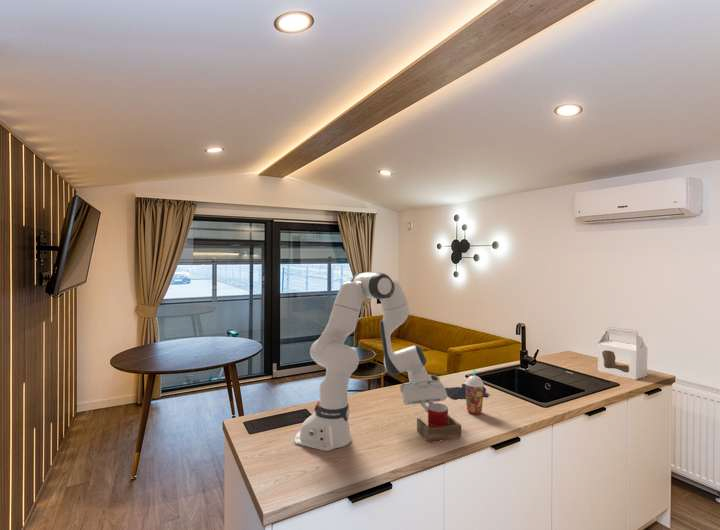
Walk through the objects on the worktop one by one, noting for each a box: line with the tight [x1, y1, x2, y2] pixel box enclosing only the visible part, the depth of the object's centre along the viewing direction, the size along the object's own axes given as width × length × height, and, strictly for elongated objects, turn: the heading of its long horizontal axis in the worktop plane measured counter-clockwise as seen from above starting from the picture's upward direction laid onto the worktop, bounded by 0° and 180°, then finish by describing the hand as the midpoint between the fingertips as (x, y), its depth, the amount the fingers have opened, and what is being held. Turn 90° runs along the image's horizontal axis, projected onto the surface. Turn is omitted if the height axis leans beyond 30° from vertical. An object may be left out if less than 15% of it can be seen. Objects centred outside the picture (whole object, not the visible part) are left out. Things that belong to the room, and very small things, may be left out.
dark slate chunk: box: [444, 383, 489, 401], centre depth 203 cm, size 15×22×5 cm
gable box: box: [597, 326, 648, 380], centre depth 237 cm, size 22×13×28 cm, turn 31°
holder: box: [416, 414, 462, 443], centre depth 157 cm, size 11×14×5 cm
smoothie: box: [464, 369, 485, 416], centre depth 178 cm, size 8×8×20 cm
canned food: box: [427, 402, 449, 428], centre depth 157 cm, size 8×8×11 cm
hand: (429, 411), depth 163 cm, fingers closed
